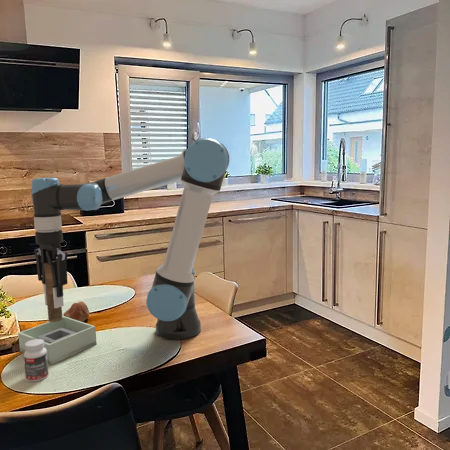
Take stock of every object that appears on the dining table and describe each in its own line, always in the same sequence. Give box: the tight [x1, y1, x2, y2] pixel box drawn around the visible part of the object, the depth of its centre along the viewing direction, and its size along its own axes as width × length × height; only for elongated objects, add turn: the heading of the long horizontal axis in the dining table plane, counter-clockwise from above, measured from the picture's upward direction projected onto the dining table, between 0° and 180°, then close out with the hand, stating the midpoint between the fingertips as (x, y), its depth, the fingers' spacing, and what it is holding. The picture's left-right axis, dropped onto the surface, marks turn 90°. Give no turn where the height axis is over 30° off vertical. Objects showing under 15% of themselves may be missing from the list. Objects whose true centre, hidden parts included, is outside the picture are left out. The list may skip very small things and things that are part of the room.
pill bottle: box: [23, 339, 49, 383], centre depth 114 cm, size 6×6×10 cm
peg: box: [44, 261, 63, 322], centre depth 130 cm, size 4×4×18 cm
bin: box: [17, 315, 97, 366], centre depth 132 cm, size 16×16×6 cm
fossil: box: [63, 301, 90, 323], centre depth 153 cm, size 13×8×10 cm
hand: (54, 305), depth 131 cm, fingers closed on peg, 4 cm apart
